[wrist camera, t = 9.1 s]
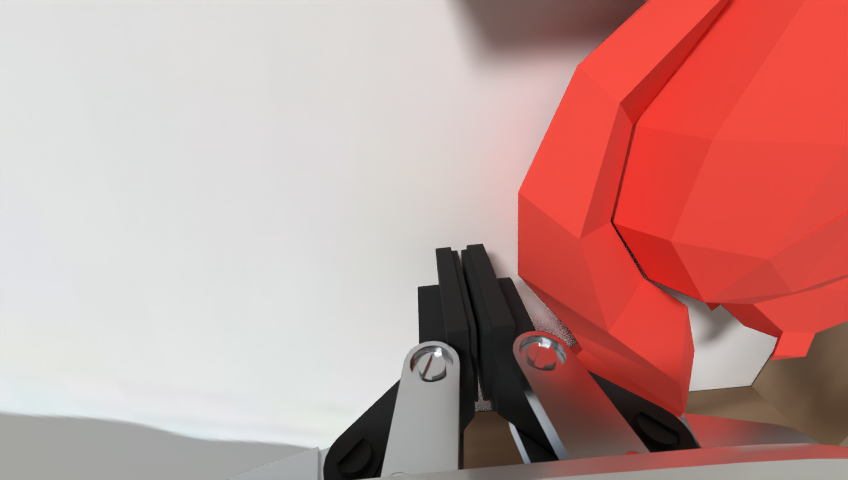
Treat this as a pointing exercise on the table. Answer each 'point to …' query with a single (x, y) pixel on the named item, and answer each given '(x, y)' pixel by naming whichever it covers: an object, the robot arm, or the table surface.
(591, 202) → the animal figurine
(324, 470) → the robot arm
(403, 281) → the table surface
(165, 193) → the table surface
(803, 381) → the frame
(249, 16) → the table surface
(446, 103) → the table surface
